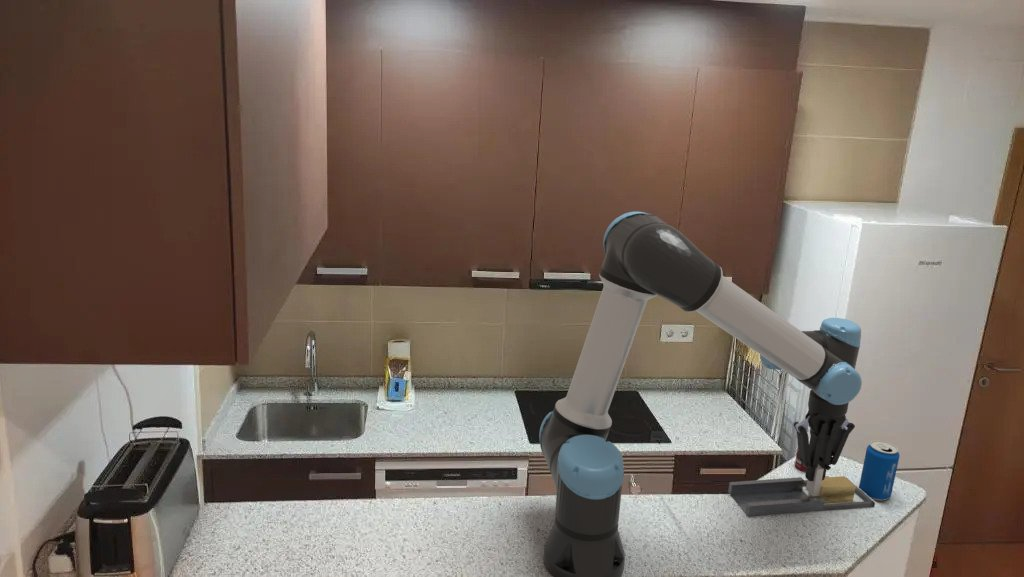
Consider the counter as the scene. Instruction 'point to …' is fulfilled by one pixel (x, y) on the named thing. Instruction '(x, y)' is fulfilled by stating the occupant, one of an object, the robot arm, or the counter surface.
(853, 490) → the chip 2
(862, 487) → the beverage can
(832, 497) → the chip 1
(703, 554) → the counter surface
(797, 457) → the pill bottle
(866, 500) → the tray
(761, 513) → the slot rail
